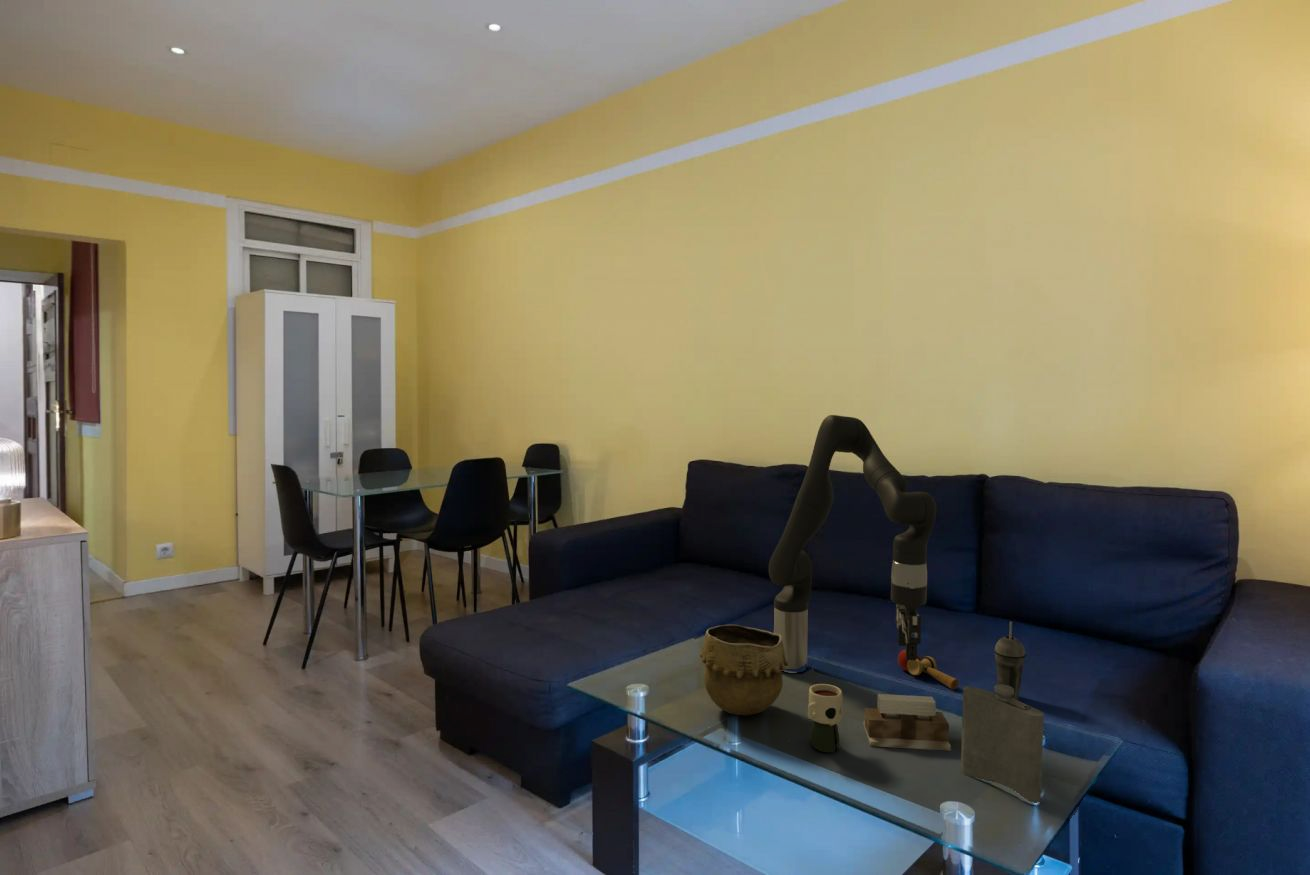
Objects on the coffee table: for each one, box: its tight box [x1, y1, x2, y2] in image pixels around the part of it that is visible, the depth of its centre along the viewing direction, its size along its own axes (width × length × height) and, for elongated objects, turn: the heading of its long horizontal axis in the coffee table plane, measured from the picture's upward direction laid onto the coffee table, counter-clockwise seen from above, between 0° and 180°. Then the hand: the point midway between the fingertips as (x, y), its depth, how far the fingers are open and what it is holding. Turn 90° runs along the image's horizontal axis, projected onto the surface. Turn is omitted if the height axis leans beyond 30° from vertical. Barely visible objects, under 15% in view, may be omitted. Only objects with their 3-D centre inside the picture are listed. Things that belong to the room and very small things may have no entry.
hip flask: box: [960, 683, 1045, 803], centre depth 143 cm, size 16×4×20 cm, turn 35°
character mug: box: [807, 683, 844, 753], centre depth 159 cm, size 11×7×13 cm, turn 127°
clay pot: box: [699, 624, 789, 716], centre depth 176 cm, size 21×21×20 cm
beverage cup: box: [993, 620, 1027, 701], centre depth 184 cm, size 7×7×20 cm
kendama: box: [897, 648, 959, 691], centre depth 197 cm, size 8×6×18 cm
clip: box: [876, 693, 937, 721], centre depth 163 cm, size 12×3×8 cm, turn 82°
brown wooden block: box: [862, 707, 952, 752], centre depth 163 cm, size 17×10×5 cm, turn 83°
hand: (906, 652), depth 162 cm, fingers open, 8 cm apart
